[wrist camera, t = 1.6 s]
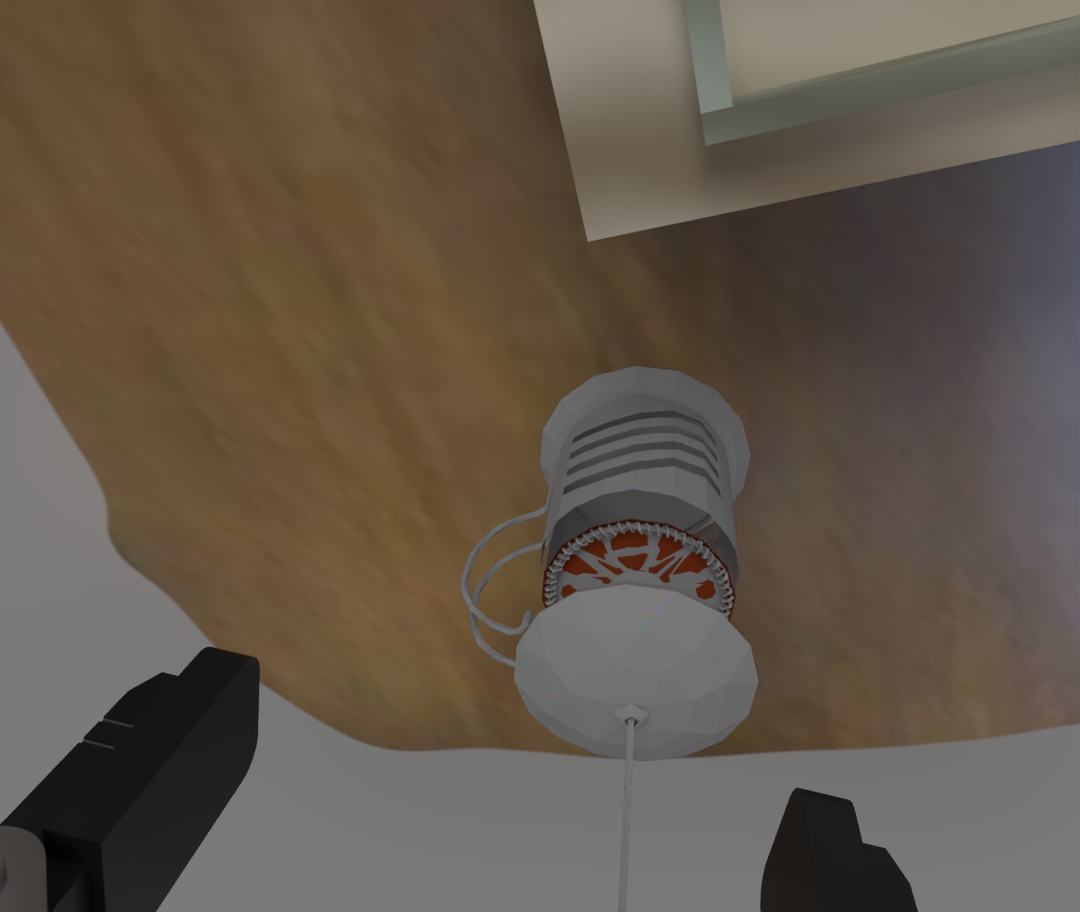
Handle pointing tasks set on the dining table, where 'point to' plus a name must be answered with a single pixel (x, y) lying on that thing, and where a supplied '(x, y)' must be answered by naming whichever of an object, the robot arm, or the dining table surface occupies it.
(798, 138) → the miniature tray table
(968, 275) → the dining table surface
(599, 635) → the french press
